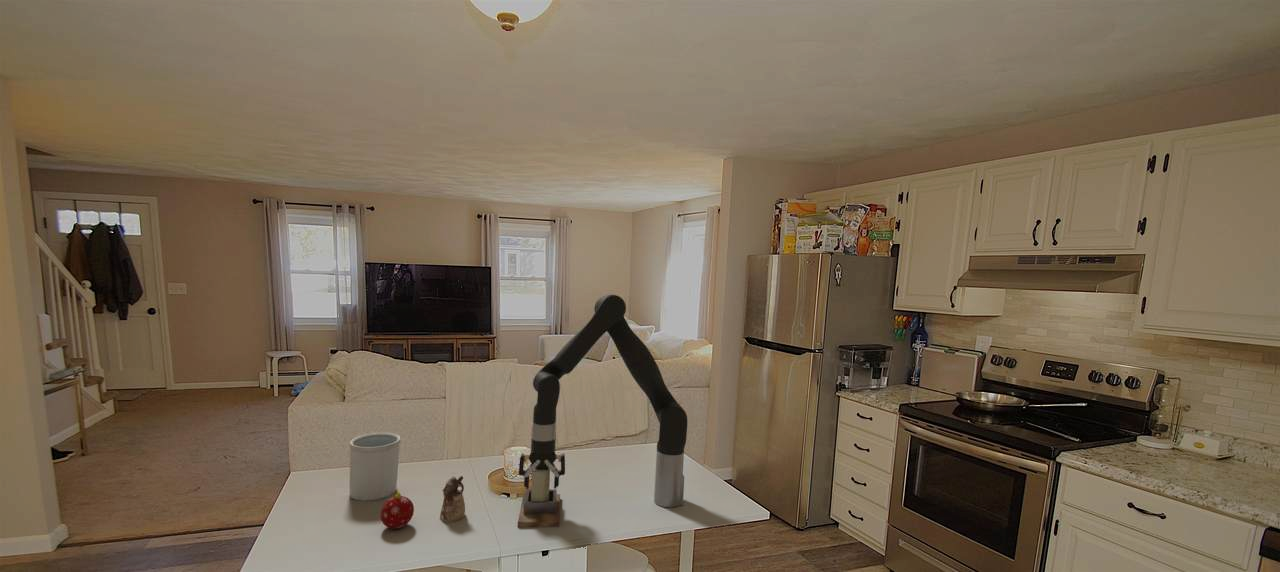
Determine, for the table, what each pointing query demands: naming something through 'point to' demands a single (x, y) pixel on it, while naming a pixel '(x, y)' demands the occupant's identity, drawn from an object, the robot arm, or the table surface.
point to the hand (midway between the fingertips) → (541, 487)
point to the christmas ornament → (397, 512)
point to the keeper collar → (540, 504)
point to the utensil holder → (374, 465)
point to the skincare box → (540, 485)
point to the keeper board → (539, 517)
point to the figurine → (453, 501)
